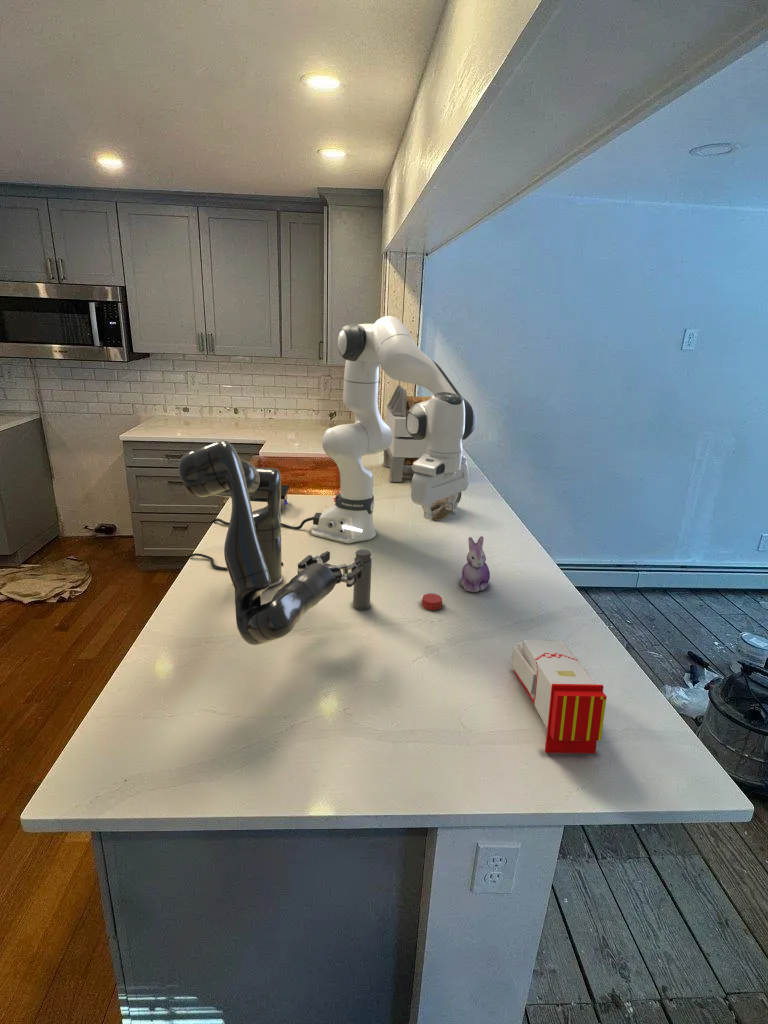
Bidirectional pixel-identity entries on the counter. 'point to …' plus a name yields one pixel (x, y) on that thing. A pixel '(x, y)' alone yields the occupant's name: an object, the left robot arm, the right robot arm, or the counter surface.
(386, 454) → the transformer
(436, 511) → the fossil
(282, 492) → the figurine character
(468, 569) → the figurine
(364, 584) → the cylinder
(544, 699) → the toy
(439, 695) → the counter surface
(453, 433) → the right robot arm
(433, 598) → the lid
